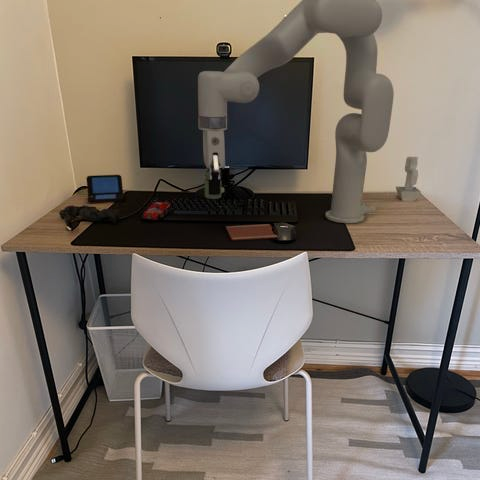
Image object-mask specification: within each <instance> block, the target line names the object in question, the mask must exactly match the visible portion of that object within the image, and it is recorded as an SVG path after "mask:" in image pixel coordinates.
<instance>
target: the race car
mask: <svg viewBox="0 0 480 480" xmlns="http://www.w3.org/2000/svg"><path fill="white" fill-rule="evenodd" d="M170 205H171V203H170V202H165V201H156V202H153V203H152V204H151V205H150V206H149V207H147V210H145V211H144V212H143V213H142V214H143V215H142V216H143V219H144V220H146V221H147V220H148V221H160V220H161V219H162V218H163V217H165V216H166V215H169V214H171V211H168V212H166V213H165V214H163V213H164V212H165V211H166V209H167V208H168V207H169V206H170ZM162 214H163V215H162Z"/></svg>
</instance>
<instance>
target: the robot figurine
mask: <svg viewBox="0 0 480 480" xmlns="http://www.w3.org/2000/svg"><path fill="white" fill-rule="evenodd" d="M58 215H59V217H60V218H61V219H64V222H65V224H66V225H68V226H69V227H72V225H71V222H72V219H73V218H74V219H75V218H77V217H80V218H81V219H83V220H86V221H90V222H100V221H102V220H103V219H109V220H110V221H111V223H112V224H113V225H117V222H120V221H121V220H122V216H121V215H122V214H121V211H120V210H119V209H111V208H104V209H101V210H100V209H99V208H97V207H96V206H90V205H84V204H83V205H81V206H75V205H67V206H65V207H64V209H60V211H59V212H58Z"/></svg>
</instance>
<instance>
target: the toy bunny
mask: <svg viewBox="0 0 480 480" xmlns="http://www.w3.org/2000/svg"><path fill="white" fill-rule="evenodd" d="M211 168H214V167H213V166H211ZM206 172H207V171H206ZM212 172H213V171H212ZM204 176H205V179H204V198H205V199H210V200H217V199H220V198H222V194H224V192H225V188H224V187H223V186H222V185H223V183H222V179H220V194H219V195H209V180H210V177H209V171H208V172H207V173H206V174H204ZM206 178H207V179H206Z"/></svg>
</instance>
